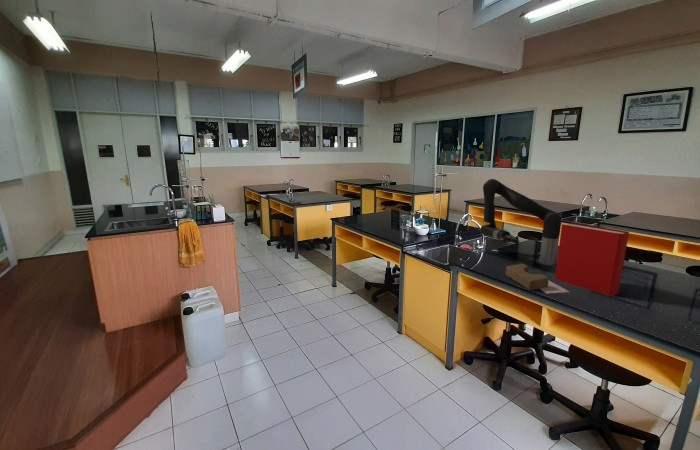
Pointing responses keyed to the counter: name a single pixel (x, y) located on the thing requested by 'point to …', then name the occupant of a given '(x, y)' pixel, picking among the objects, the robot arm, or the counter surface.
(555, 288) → the mat
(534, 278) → the decorative block
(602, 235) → the book
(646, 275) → the counter surface
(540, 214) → the robot arm
